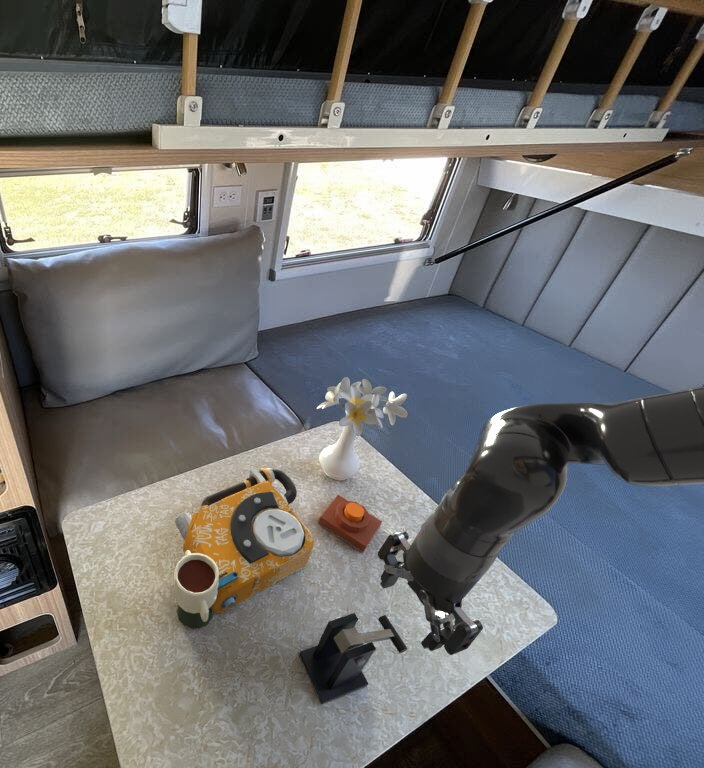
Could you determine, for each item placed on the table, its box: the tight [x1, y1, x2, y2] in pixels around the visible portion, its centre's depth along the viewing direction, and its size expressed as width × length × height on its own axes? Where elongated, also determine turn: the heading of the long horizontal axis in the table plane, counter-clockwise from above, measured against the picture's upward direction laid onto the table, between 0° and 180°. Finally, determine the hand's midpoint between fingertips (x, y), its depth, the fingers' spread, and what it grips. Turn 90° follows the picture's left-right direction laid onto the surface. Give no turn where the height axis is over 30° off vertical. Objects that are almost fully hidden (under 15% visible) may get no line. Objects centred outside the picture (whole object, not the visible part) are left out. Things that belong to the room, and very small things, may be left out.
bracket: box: [298, 612, 377, 705], centre depth 60 cm, size 8×7×13 cm
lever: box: [333, 614, 409, 654], centre depth 60 cm, size 12×5×2 cm, turn 107°
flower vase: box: [316, 376, 409, 482], centre depth 91 cm, size 13×18×25 cm
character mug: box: [173, 550, 219, 630], centre depth 67 cm, size 11×7×13 cm, turn 16°
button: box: [344, 502, 364, 522], centre depth 83 cm, size 4×4×2 cm
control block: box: [318, 494, 383, 553], centre depth 84 cm, size 10×8×4 cm
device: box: [174, 466, 315, 614], centre depth 80 cm, size 23×8×30 cm
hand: (406, 612), depth 58 cm, fingers open, 8 cm apart
